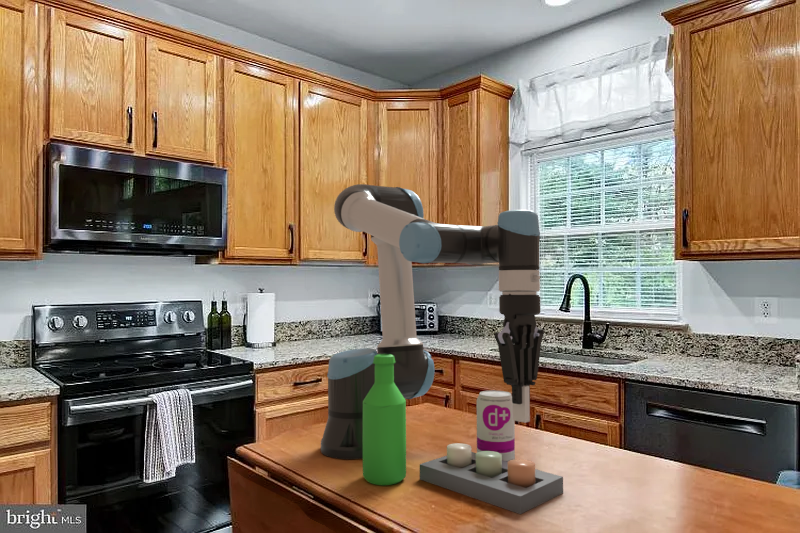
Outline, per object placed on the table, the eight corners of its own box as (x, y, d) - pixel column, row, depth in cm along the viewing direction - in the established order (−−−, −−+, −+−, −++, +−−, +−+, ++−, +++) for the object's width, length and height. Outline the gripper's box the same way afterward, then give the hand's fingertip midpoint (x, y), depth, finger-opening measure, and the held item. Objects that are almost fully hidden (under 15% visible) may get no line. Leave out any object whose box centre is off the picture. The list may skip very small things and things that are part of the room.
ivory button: (441, 464, 115) (441, 446, 115) (457, 458, 119) (457, 441, 119) (460, 469, 111) (460, 451, 112) (476, 464, 115) (476, 446, 115)
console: (419, 479, 113) (419, 464, 113) (464, 463, 123) (464, 449, 123) (520, 514, 96) (520, 496, 96) (563, 492, 106) (563, 476, 106)
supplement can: (514, 468, 119) (514, 397, 120) (475, 466, 121) (475, 396, 122) (514, 457, 127) (514, 390, 128) (478, 455, 129) (477, 389, 130)
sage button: (470, 472, 110) (470, 454, 110) (486, 466, 113) (486, 449, 113) (491, 479, 106) (491, 460, 106) (507, 472, 110) (506, 454, 110)
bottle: (373, 490, 108) (373, 358, 108) (355, 476, 115) (355, 353, 116) (414, 482, 112) (413, 355, 112) (394, 469, 119) (393, 351, 120)
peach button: (502, 482, 104) (502, 463, 104) (517, 476, 108) (517, 457, 108) (525, 489, 101) (525, 469, 101) (540, 482, 104) (540, 463, 104)
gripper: (516, 294, 98) (518, 430, 97) (555, 293, 107) (557, 418, 106) (481, 293, 103) (483, 423, 103) (522, 292, 112) (524, 411, 112)
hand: (521, 420), depth 104 cm, fingers closed
